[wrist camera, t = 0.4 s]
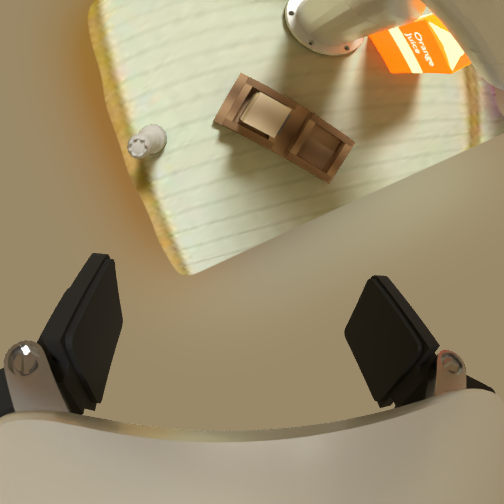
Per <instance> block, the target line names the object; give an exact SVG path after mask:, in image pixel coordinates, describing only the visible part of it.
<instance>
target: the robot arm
mask: <svg viewBox="0 0 504 504" xmlns="http://www.w3.org/2000/svg"><path fill="white" fill-rule="evenodd" d="M426 6H427V7H428V8H429V9H430V10H431V12H432V13H433V14H434V15H435V16H436V17H437V18H438V19H439V20H440V21H441V22H442V24H443V25H444V26H445V27H446V29H447V30H448V31H449V32H450V34H451V35H452V36H453V38H454V39H455V40H456V42H457V43H458V44H459V46H460V47H461V49H462V50H463V52H464V53H465V54H466V56H467V57H468V59H469V60H470V62H471V63H472V64H473V66H474V67H475V69H476V70H477V71H478V73H479V74H480V75H481V76H482V77H483V78H484V79H485V80H486V81H487V82H488V83H490V84H491V85H493V86H495V87H497V88H499V89H502V90H504V0H288V2H287V4H286V7H285V20H286V23H287V26H288V28H289V30H290V32H291V33H292V35H293V36H294V37H295V38H296V39H297V40H298V41H299V42H300V43H301V44H302V45H304V46H305V47H307V48H308V49H310V50H312V51H315V52H317V53H320V54H324V55H331V56H333V55H342V54H347V53H350V52H352V51H353V50H355V49H356V48H358V47H359V46H360V45H361V43H362V42H363V40H364V37H366V36H369V35H372V34H375V33H379V32H382V31H385V30H389V29H392V28H396V27H400V26H403V25H407V24H410V23H412V22H414V21H415V20H417V19H418V18H419V17H420V15H421V14H422V13H423V11H424V9H425V7H426ZM289 14H291V15H292V16H290V15H289ZM309 43H311V45H309ZM344 48H345V49H346V50H345V49H344ZM122 323H123V318H122V313H121V306H120V300H119V293H118V286H117V279H116V271H115V262H114V260H113V259H110V257H109V255H108V254H99V253H93V254H92V255H91V256H90V258H89V259H88V260H87V262H86V263H85V265H84V266H83V268H82V270H81V271H80V272H79V274H78V276H77V277H76V279H75V280H74V282H73V284H72V285H71V287H70V288H69V289H67V290H66V292H65V293H64V295H63V297H62V298H61V300H60V302H59V303H58V305H57V307H56V308H55V310H54V312H53V314H52V315H51V317H50V319H49V321H48V323H47V324H46V326H45V328H44V330H43V332H42V334H41V336H40V338H39V340H38V342H37V343H36V342H34V341H27V340H25V341H20V342H18V343H16V344H14V345H13V346H12V347H11V348H10V349H9V350H8V351H7V353H6V354H5V358H4V368H2V369H0V504H504V403H503V402H502V401H501V399H500V398H499V397H498V396H497V395H496V394H495V392H494V390H493V389H492V388H491V387H488V386H487V385H485V384H483V383H481V382H479V381H477V380H475V379H473V378H471V377H469V376H467V375H466V367H465V364H464V362H463V360H462V359H461V358H460V357H459V356H458V355H457V354H456V353H454V352H453V351H450V350H442V351H440V352H439V353H438V355H437V356H436V354H435V351H436V350H437V349H438V347H439V346H440V345H439V344H438V343H437V341H436V340H435V338H434V337H433V335H432V334H431V333H430V331H429V330H428V329H427V327H426V326H425V324H424V323H423V322H422V320H421V319H420V318H419V316H418V315H417V314H416V312H415V311H414V310H413V308H412V307H411V306H410V304H409V303H408V302H407V301H406V299H405V298H404V297H403V295H402V294H401V293H400V292H399V290H398V289H397V288H396V287H395V285H394V284H393V283H392V282H391V281H390V279H389V278H388V277H387V276H377V275H374V276H372V277H371V279H369V280H368V281H367V283H366V285H365V287H364V290H363V292H362V294H361V296H360V298H359V301H358V303H357V305H356V307H355V309H354V311H353V313H352V315H351V318H350V320H349V322H348V324H347V326H346V328H345V338H346V340H347V342H348V344H349V346H350V348H351V350H352V352H353V355H354V357H355V359H356V361H357V363H358V365H359V367H360V370H361V372H362V374H363V376H364V378H365V381H366V383H367V385H368V387H369V390H370V392H371V394H372V396H373V398H374V400H375V401H377V402H378V405H379V407H380V408H382V407H386V406H390V405H391V404H392V403H393V402H394V403H395V408H394V409H391V410H387V411H383V412H379V413H375V414H370V415H366V416H362V417H357V418H352V419H347V420H341V421H336V422H330V423H323V424H317V425H310V426H301V427H291V428H281V429H267V430H246V431H245V430H244V431H209V430H187V429H174V428H164V427H154V426H145V425H137V424H130V423H124V422H117V421H112V420H106V419H101V418H95V417H90V416H83V415H82V414H83V413H84V408H85V409H89V410H93V411H95V408H96V403H101V401H102V397H103V393H104V389H105V385H106V381H107V377H108V373H109V369H110V366H111V362H112V359H113V355H114V352H115V348H116V345H117V342H118V338H119V335H120V332H121V329H122Z"/></svg>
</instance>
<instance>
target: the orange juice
mask: <svg viewBox="0 0 504 504" xmlns="http://www.w3.org/2000/svg"><path fill="white" fill-rule="evenodd" d="M369 37H370V38H371V40H372V41H373V43H374V45H375V46H376V48H377V49H378V51H379V53H380V54H381V56H382V58H383V60H384V61H385V63H386V65H387V67H388V68H389V70H390V72H391V73H446V74H452V73H454V72H456V71H458V70H459V69H461V68H463V67H465V66H467V65H469V64H471V62H470V60H469V59H468V57H467V56H466V54H465V53H464V52H463V50H462V49H461V47H460V46H459V44H458V43H457V42H456V40H455V39H454V38H453V36H452V35H451V34H450V32H449V31H448V30H447V29H446V27H445V26H444V25H443V24H442V22H441V21H440V20H439V19H438V18H437V17H436V16H435V15H434V14H429V15H424V16H421V17H419V18H418V19H417V20H415V21H414V22H412V23H410V24H407V25H403V26H400V27H396V28H392V29H389V30H385V31H382V32H379V33H375V34H372V35H369Z"/></svg>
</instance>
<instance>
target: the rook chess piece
mask: <svg viewBox="0 0 504 504" xmlns="http://www.w3.org/2000/svg"><path fill="white" fill-rule="evenodd" d="M166 139H167V137H166V132H165V131H164V130H163V128H162V127H160V126H158V125H155V124H150V125H147V126H145V127H144V128H142V129H141V130H140V131H139V133H138V134H136V135H133V136H132V137H131V138H130V140H129V141H128V146H127V148H128V152H129V153H130V155H131V156H132V157H134V158H136V159H142V158H145V157H146V156H148V155H149V154H154V153H157V152H159V151H160V150H161V149H163V147H164V146H165V144H166Z"/></svg>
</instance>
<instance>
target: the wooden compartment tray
mask: <svg viewBox="0 0 504 504" xmlns="http://www.w3.org/2000/svg"><path fill="white" fill-rule="evenodd" d="M214 122H216V123H218V124H220V125H223V126H225V127H227V128H229V129H231V130H233V131H235V132H237V133H239V134H241V135H243V136H245V137H247V138H249V139H251V140H253V141H255V142H257V143H259V144H260V145H262V146H264V147H266V148H268V149H270V150H272V151H273V152H275V153H277V154H279V155H281V156H283V157H284V158H286V159H288V160H290V161H291V162H293V163H295V164H297V165H298V166H300V167H302V168H304V169H305V170H307V171H309V172H310V173H312V174H314V175H315V176H317V177H319V178H320V179H322V180H324V181H325V182H327V183H328V184H329V183H330V182H331V180H332V179H333V177H334V176H335V174H336V172H337V171H338V169H339V168H340V166H341V165H342V163H343V161H344V160H345V158H346V157H347V155H348V153H349V152H350V150H351V149H352V147H353V145H354V144H355V142H354V141H353V140H351V139H350V138H348V137H347V136H346V135H344V134H343V133H341V132H340V131H339V130H337V129H336V128H334V127H333V126H331V125H330V124H328V123H327V122H325V121H324V120H322V119H321V118H319V117H318V116H316V115H315V114H313V113H312V112H310V111H308V110H307V109H305V108H304V107H302V106H300V105H299V104H297V103H296V102H294V101H292V100H290V99H289V98H287V97H285V96H284V95H282V94H280V93H278V92H277V91H275V90H273V89H271V88H269V87H267V86H266V85H264V84H262V83H260V82H258V81H256V80H254V79H252V78H250V77H248V76H246V75H244V74H242V73H241V74H240V75H239V77H238V79H237V80H236V82H235V84H234V85H233V87H232V89H231V90H230V92H229V94H228V96H227V97H226V99H225V101H224V103H223V104H222V106H221V108H220V110H219V112H218V113H217V115H216V117H215V119H214Z"/></svg>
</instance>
